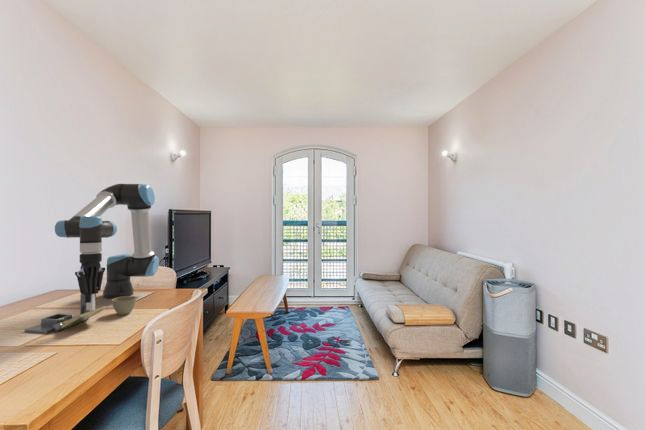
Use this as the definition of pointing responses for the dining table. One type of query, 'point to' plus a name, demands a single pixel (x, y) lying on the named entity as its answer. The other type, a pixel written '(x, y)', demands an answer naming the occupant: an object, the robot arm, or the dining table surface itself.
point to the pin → (83, 305)
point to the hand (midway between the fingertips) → (90, 309)
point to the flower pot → (124, 304)
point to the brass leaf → (81, 317)
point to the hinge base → (51, 324)
